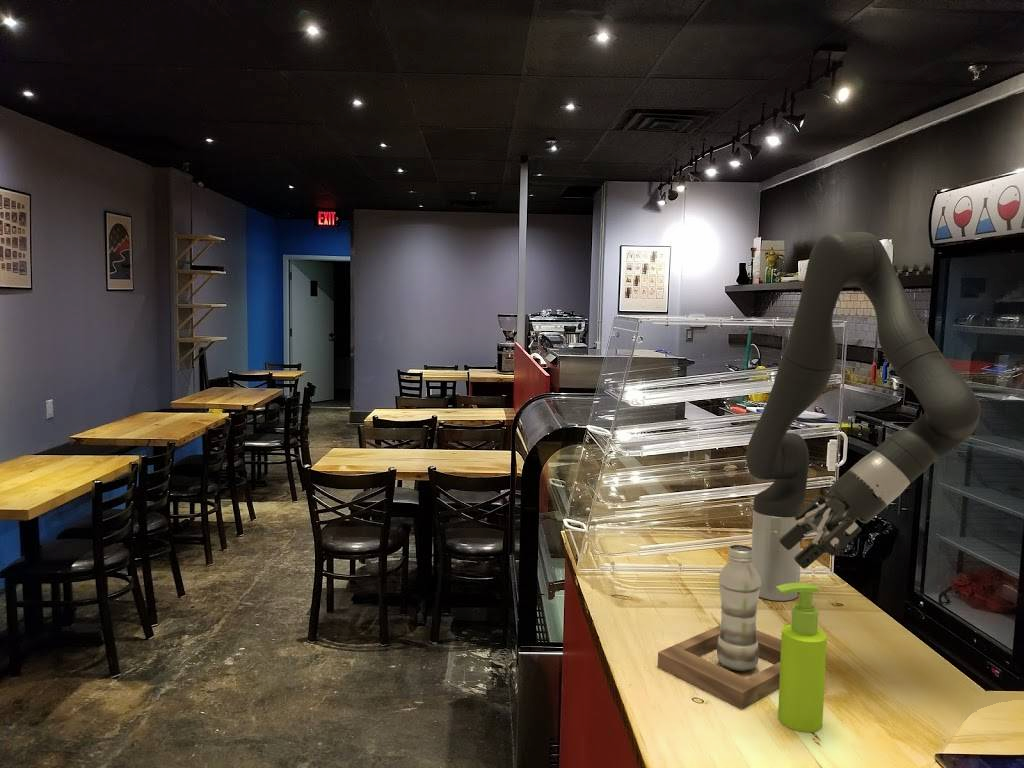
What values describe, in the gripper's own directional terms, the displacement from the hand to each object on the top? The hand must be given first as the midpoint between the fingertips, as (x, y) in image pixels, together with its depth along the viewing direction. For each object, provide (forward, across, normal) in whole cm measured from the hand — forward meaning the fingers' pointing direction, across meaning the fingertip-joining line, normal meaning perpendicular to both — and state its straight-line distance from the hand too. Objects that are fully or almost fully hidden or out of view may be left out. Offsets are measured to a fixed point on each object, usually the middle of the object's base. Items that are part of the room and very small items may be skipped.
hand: (790, 554), depth 116 cm
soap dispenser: (+15, +15, +12) cm, 25 cm away
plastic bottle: (+19, 0, +8) cm, 21 cm away
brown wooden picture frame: (+19, 0, +8) cm, 21 cm away
